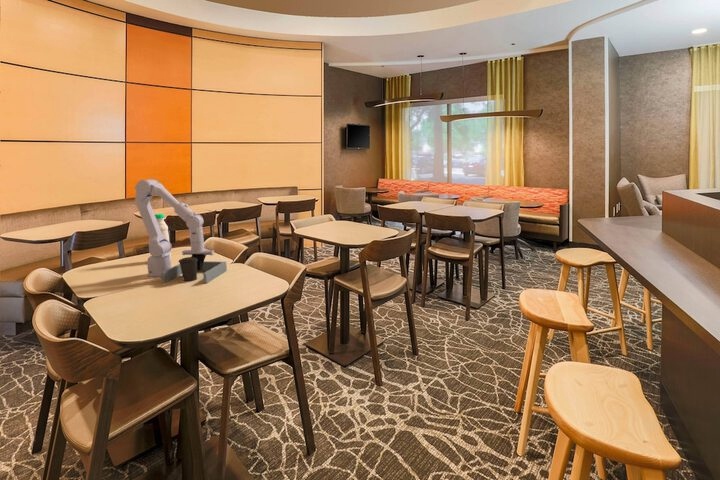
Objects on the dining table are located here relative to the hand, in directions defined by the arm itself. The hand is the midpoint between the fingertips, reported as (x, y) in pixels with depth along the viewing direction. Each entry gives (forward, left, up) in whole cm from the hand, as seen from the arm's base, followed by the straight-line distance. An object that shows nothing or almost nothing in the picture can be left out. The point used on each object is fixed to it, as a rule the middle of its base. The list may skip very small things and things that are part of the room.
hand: (199, 269), depth 189 cm
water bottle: (-32, +23, -2) cm, 39 cm away
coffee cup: (0, -9, -2) cm, 9 cm away
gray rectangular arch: (0, -5, -2) cm, 5 cm away
